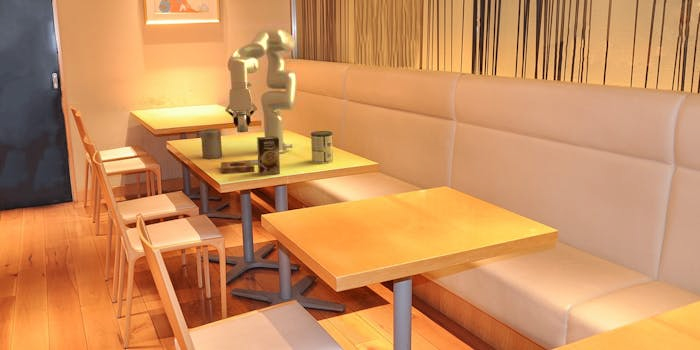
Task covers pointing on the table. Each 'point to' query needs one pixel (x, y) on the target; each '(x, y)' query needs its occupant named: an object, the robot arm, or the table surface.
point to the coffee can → (322, 147)
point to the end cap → (242, 121)
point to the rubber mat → (253, 161)
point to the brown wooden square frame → (237, 167)
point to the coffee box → (268, 155)
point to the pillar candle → (211, 143)
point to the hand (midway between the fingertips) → (242, 124)
